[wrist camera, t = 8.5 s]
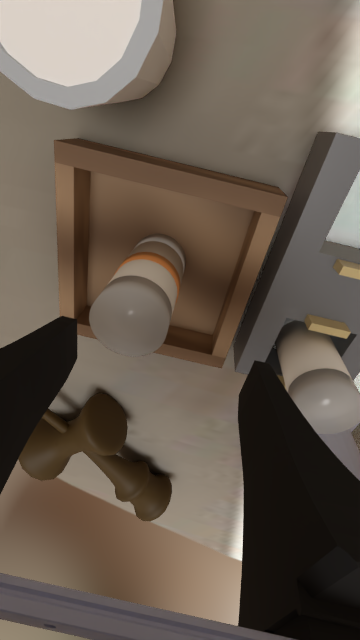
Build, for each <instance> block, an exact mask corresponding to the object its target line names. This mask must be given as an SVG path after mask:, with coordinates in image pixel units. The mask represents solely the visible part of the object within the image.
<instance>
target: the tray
mask: <svg viewBox="0 0 360 640" xmlns="http://www.w3.org/2000/svg"><path fill="white" fill-rule="evenodd" d="M54 154H55V184H56V215H57V245H58V275H59V305H60V317H61V316H65V317H69V318H74V319H77V335H81V336H86V337H90V338H94V339H97V338H96V336H95V335H94V333H93V331H92V329H91V326H90V322H89V313H90V309H91V307H92V305H93V303H94V302H95V300H96V299H97V298H98V296H99V295H100V294H101V292H102V291H103V290H104V288H105V287H106V286H107V284H108V283H109V282H110V280H111V279H112V278H113V276H114V274H115V272H116V271H117V269H118V268H119V266H120V265H121V264H122V263H123V261H124V260H125V259H126V258H127V257H128V256H129V255H130V253H131V252H132V251H133V249H134V248H135V247H136V245H137V244H138V243H139V241H140V240H141V239H143V238H144V237H146V236H148V235H151V234H165V235H168V236H170V237H172V238H174V239H175V240H176V241H177V242H178V243H179V244H180V245H181V246H182V248H183V250H184V252H185V256H186V266H185V270H184V273H183V277H182V281H181V284H180V291H179V295H178V299H177V302H176V304H175V306H174V310H173V313H172V317H171V321H170V324H169V328H168V332H167V335H166V338H165V341H164V343H163V344H162V345H161V346H160V347H159V348H158V349H157V350H156V351H154V353H158V354H162V355H167V356H171V357H175V358H179V359H184V360H188V361H192V362H196V363H201V364H205V365H209V366H213V367H218V368H222V366H223V364H224V361H225V358H226V356H227V353H228V351H229V348H230V345H231V343H232V340H233V338H234V335H235V333H236V330H237V327H238V325H239V322H240V320H241V317H242V314H243V312H244V309H245V307H246V304H247V302H248V299H249V296H250V294H251V291H252V289H253V286H254V283H255V281H256V278H257V276H258V273H259V271H260V268H261V265H262V263H263V260H264V258H265V255H266V252H267V250H268V247H269V245H270V242H271V239H272V237H273V234H274V232H275V229H276V227H277V224H278V221H279V219H280V216H281V214H282V211H283V208H284V206H285V203H286V201H287V198H288V197H287V196H286V195H285V194H284V193H283V192H282V191H281V190H280V188H279V187H275V186H271V185H267V184H263V183H259V182H255V181H251V180H247V179H243V178H239V177H235V176H230V175H226V174H222V173H218V172H214V171H210V170H206V169H202V168H198V167H194V166H189V165H185V164H181V163H177V162H173V161H169V160H165V159H161V158H157V157H153V156H148V155H144V154H140V153H136V152H132V151H128V150H124V149H120V148H116V147H112V146H107V145H103V144H99V143H95V142H91V141H87V140H83V139H79V138H77V139H63V140H54Z"/></svg>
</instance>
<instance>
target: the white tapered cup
mask: <svg viewBox="0 0 360 640" xmlns="http://www.w3.org/2000/svg"><path fill="white" fill-rule="evenodd" d="M175 39H176V24H175V15H174V6H173V0H0V72H2V73H3V74H4V75H5V76H7V77H8V78H9V79H10V80H12V81H13V82H14V83H15V84H17V85H18V86H19V87H20V88H22V89H23V90H24V91H25V92H27V93H28V94H29V95H30V96H32V97H33V98H34V99H37V100H41V101H44V102H47V103H50V104H54V105H57V106H60V107H64V108H67V109H70V110H71V109H78V108H85V107H92V106H99V105H106V104H113V103H119V102H125V101H130V100H135V99H141V98H143V97H144V96H145V95H147V94H148V93H149V92H150V91H152V90H153V89H154V88H155V87H157V86H158V85H159V84H160V82H161V80H162V78H163V76H164V75H165V73H166V71H167V69H168V67H169V65H170V64H171V61H172V55H173V50H174V44H175Z"/></svg>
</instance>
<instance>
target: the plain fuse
mask: <svg viewBox="0 0 360 640" xmlns="http://www.w3.org/2000/svg"><path fill="white" fill-rule="evenodd" d="M275 346H276V350H277V354H278V358H279V362H280V366H281V370H282V374H283V378H284V382H285V386H286V390H287V392H288V394H289V395H290V397H291V398H292V400H293V401H294V403H295V404H296V406H297V407H298V408H299V410H300V411H301V413H302V414H303V416H304V417H305V418H306V420H307V421H308V422H309V424H310V425H311V426H312V428H313V429H314V430H315V432H316V433H317V434H334V433H339V432H342V431H345V430H348V429H350V428H352V427H354V426H355V425H356V424H358V423H359V422H360V393H359V391H358V389H357V387H356V385H355V384H354V382H353V380H352V378H351V376H350V374H349V372H348V370H347V368H346V366H345V364H344V362H343V361H342V359H341V357H340V355H339V353H338V351H337V349H336V347H335V345H334V343H333V341H332V339H331V338H330V336H329V335H328V334H324V333H320V332H316V331H312V330H308V328H307V326H306V324H305V322H302V321H298V320H294V319H289V318H286V320H285V322H284V324H283V326H282V328H281V330H280V332H279V334H278V336H277V338H276V340H275Z"/></svg>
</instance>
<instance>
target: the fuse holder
mask: <svg viewBox="0 0 360 640" xmlns="http://www.w3.org/2000/svg"><path fill="white" fill-rule="evenodd" d="M359 170H360V138H356V137H352V136H348V135H344V134H340V133H333V132H318V134H317V136H316V139H315V141H314V144H313V146H312V149H311V151H310V154H309V156H308V159H307V161H306V164H305V167H304V169H303V172H302V174H301V177H300V179H299V182H298V184H297V187H296V189H295V192H294V194H293V197H292V199H291V202H290V204H289V207H288V210H287V212H286V215H285V217H284V220H283V222H282V225H281V227H280V230H279V232H278V235H277V237H276V240H275V242H274V245H273V248H272V250H271V253H270V255H269V258H268V260H267V263H266V265H265V268H264V270H263V273H262V275H261V278H260V280H259V283H258V286H257V288H256V291H255V293H254V296H253V298H252V301H251V303H250V306H249V308H248V311H247V313H246V316H245V318H244V321H243V323H242V326H241V329H240V331H239V334H238V336H237V339H236V341H235V344H234V363H235V372H239V373H243V374H249V372H250V369H251V367H252V365H253V363H254V361H255V360H256V361H260V362H264V363H269V364H270V365H271V367H272V368H273V370H274V371H275V373H276V374H277V376H278V378H279V379H280V381H281V383H282V384H283V386H284V387H285V389H286V386H285V382H284V378H283V374H282V370H281V366H280V362H279V358H278V354H277V350H276V349H274V348H272V347H273V344H274V342H275V340H276V338H277V336H278V334H279V332H280V330H281V328H282V326H283V324H284V322H285V320H286V318H289V319H294V320H298V321H302V322H305V324H306V326H307V328H308V330H312V331H316V332H320V333H324V334H328V335H329V336H330V338H331V339H332V341H333V343H334V345H335V347H336V349H337V351H338V353H339V355H340V357H341V359H342V361H343V362H344V364H345V366H346V368H347V370H348V372H349V374H350V376H351V378H352V380H354V379H355V377H356V376H357V375H358V373H359V372H360V249H358V248H354V247H350V246H346V245H342V244H337V243H333V242H329V241H325V239H326V237H327V235H328V233H329V231H330V229H331V227H332V225H333V223H334V221H335V218H336V216H337V214H338V212H339V210H340V208H341V206H342V204H343V202H344V200H345V198H346V196H347V194H348V192H349V190H350V188H351V186H352V184H353V182H354V180H355V178H356V176H357V174H358V172H359Z"/></svg>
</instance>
